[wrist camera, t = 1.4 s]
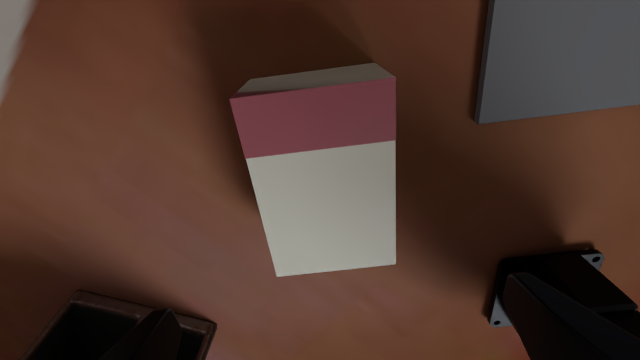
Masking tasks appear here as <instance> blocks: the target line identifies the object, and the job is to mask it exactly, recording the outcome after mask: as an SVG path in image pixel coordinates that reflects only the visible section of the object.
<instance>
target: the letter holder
mask: <svg viewBox="0 0 640 360" xmlns="http://www.w3.org/2000/svg"><path fill="white" fill-rule="evenodd" d="M155 309H157V308H153V307H149V306H145V305H141V304H136V303H132V302H128V301H124V300H120V299H115V298H111V297H108V296H103V295H99V294H95V293H91V292H87V291H83V290H77V291H76V292H75V293H74V294H73V295H72V296H71V297H70V298H69V299H68V300H67V302H66V303H65V304H64V305H63V306H62V307H61V309H60V310H59V311H58V312H57V314H56V315H55V316H54V317H53V318H52V320H51V321H50V322H49V323H48V325H47V326H46V327H45V328H44V329H43V331H42V332H41V333H40V335H39V336H38V337H37V338H36V339H35V341H34V342H33V343H32V344H31V345H30V347H29V348H28V349H27V350H26V352H25V353H24V354H23V355H22V356H21V357H20V359H19V360H99V359H100V358H101V357H102V356H103V355H104V354H105V353H107V352H108V351H109V350H110V349H111V348H112V347H113V346H114V345H115V344H116V343H118V342H119V341H120V340H121V339H122V338H123V337H124V336H125V335H126V334H127V333H128V332H130V331H131V330H132V329H133V328H134V327H135V326H136V325H137V324H138V323H139V322H141V321H142V320H143V319H144V318H145V317H146V316H147V315H148V314H149V313H150V312H152V311H153V310H155ZM174 314H175V316H176V318H177V320H178V322H179V324H180V326H181V331H182V333H181V339H180V343H179V348H178V352H177V356H176V360H205V359H206V356H207V354H208V351H209V348H210V345H211V343H212V340H213V338H214V335H215V332H216V330H217V324H216V323H212V322H209V321H206V320H202V319H198V318H194V317H190V316H186V315H181V314H178V313H174Z"/></svg>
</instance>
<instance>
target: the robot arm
mask: <svg viewBox="0 0 640 360" xmlns="http://www.w3.org/2000/svg"><path fill="white" fill-rule="evenodd" d="M603 260H604V255H603V254H602V253H601V252H599V251H598V250H595V249H592V250H583V251H573V252H564V253H554V254H545V255H535V256H526V257H516V258H507V259H504V260H502V261H501V262H500V263H499V267H498V271H497V276H496V281H495V285H494V290H493V295H492V299H491V304H490V309H489V313H488V318H487V320H488V322H489V324H490V325H491V326H492V327H502V326H513V327H514V328H515V330H516V331H517V333H518V334H519V336H520V338H521V340H522V343H523V345H524V347H525V349H526V351H527V353H528V355H529V357H530V360H640V312H639V311H637V309H638V306H637V304H636V303H635V302H633V301H632V300H631V299H630V298H629V297H628V296H627V295H625V294H624V293H623V292H622V291H621V290H620V289H619V288H618V287H616V286H615V285H614V284H613V283H612V282H611V281H610V280H608V279H607V278H606V277H605V276H604V275H603V274H602V273H601V272H599V269H600V267H601V264H602V262H603ZM181 333H182V331H181V326H180V324H179V322H178V320H177V318H176V316H175V314H174V312H173V310H172V309H170V308H160V309H155V310H153V311H152V312H150V313H149V314H148V315H147V316H146V317H145V318H144V319H143V320H142V321H141V322H139V323H138V324H137V325H136V326H135V327H134V328H133V329H132V330H131V331H130V332H128V333H127V334H126V335H125V336H124V337H123V338H122V339H121V340H120V341H119V342H118V343H116V344H115V345H114V346H113V347H112V348H111V349H110V350H109V351H108V352H107V353H105V354H104V355H103V356H102V357H101V358H100V359H99V360H176V356H177V352H178V348H179V343H180V339H181Z"/></svg>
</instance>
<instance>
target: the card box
mask: <svg viewBox="0 0 640 360" xmlns="http://www.w3.org/2000/svg"><path fill="white" fill-rule="evenodd" d="M229 100H230V104H231V107H232V111H233V115H234V119H235V123H236V126H237V130H238V134H239V138H240V141H241V145H242V149H243V153H244V156H245V159H246V162H247V165H248V169H249V173H250V177H251V180H252V184H253V188H254V192H255V196H256V199H257V203H258V207H259V211H260V214H261V218H262V222H263V226H264V230H265V233H266V237H267V241H268V245H269V249H270V252H271V256H272V260H273V264H274V267H275V271H276V275H277V277H280V276H290V275H299V274H308V273H318V272H327V271H337V270H346V269H355V268H365V267H374V266H384V265H393V264H396V146H395V140H396V77H395V76H394V75H392V74H391V73H389V72H388V71H387V70H385V69H384V68H382V67H381V66H380V65H378V64H377V63H368V64H360V65H353V66H345V67H338V68H330V69H323V70H315V71H308V72H300V73H293V74H285V75H278V76H270V77H263V78H255V79H249V80H248V81H247V82H246V83H245V84H244V85H243V86H242V87H241V88H240V89H239V90H238V91H237V92H236V93H235V94H234V95H233V96H232V97H231V98H230V99H229Z"/></svg>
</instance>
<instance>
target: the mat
mask: <svg viewBox="0 0 640 360" xmlns="http://www.w3.org/2000/svg"><path fill="white" fill-rule="evenodd" d="M638 104H640V0H489V4H488V12H487V20H486V28H485V36H484V45H483V53H482V61H481V69H480V77H479V85H478V93H477V101H476V110H475V118H474V121H475V122H476V123H478V124H484V123H493V122H501V121H509V120H517V119H525V118H533V117H541V116H549V115H557V114H565V113H574V112H582V111H590V110H598V109H606V108H614V107H622V106H630V105H638Z"/></svg>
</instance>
